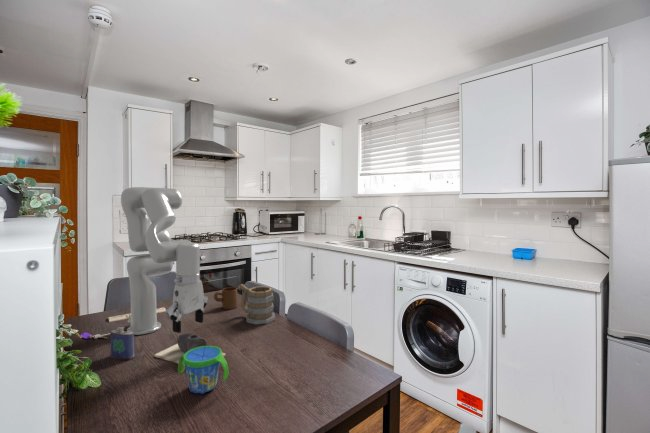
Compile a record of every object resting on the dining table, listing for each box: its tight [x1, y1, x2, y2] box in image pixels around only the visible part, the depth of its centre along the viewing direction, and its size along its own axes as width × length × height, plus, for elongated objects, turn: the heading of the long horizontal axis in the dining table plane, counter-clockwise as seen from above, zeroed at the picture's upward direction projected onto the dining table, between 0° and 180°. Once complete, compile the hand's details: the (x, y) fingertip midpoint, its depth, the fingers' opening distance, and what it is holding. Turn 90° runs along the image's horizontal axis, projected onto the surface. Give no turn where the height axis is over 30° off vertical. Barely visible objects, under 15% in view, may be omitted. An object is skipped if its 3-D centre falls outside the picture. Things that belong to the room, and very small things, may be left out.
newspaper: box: [107, 307, 167, 323], centre depth 156 cm, size 24×7×2 cm, turn 127°
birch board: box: [154, 343, 226, 365], centre depth 115 cm, size 22×11×1 cm, turn 65°
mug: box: [213, 286, 238, 310], centre depth 166 cm, size 12×8×9 cm, turn 132°
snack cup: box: [177, 345, 230, 395], centre depth 95 cm, size 16×10×10 cm
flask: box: [110, 326, 135, 361], centre depth 114 cm, size 9×3×11 cm, turn 74°
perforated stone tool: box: [177, 332, 208, 353], centre depth 115 cm, size 15×5×7 cm, turn 51°
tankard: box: [237, 283, 276, 325], centre depth 152 cm, size 20×13×15 cm, turn 58°
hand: (188, 326), depth 115 cm, fingers open, 9 cm apart
